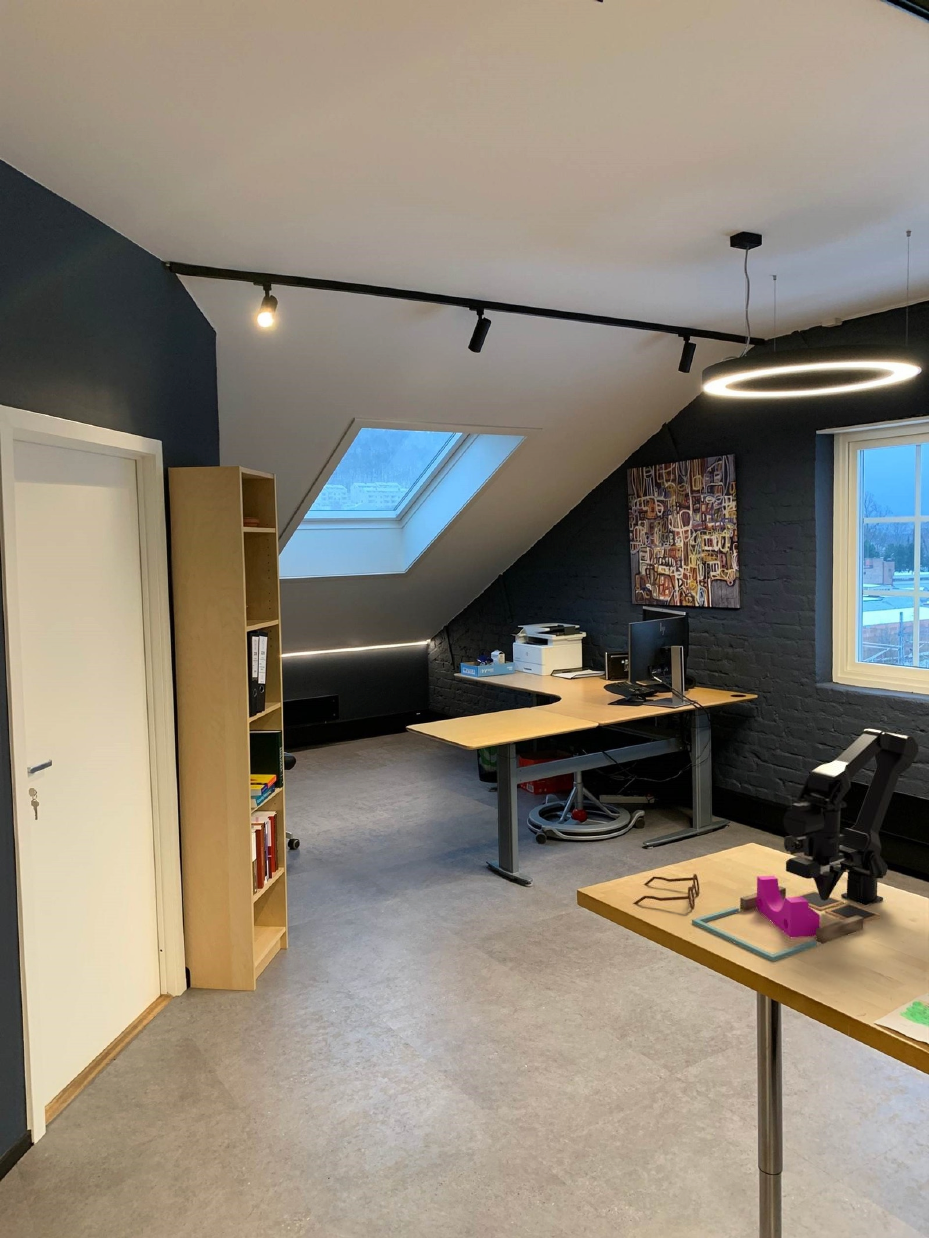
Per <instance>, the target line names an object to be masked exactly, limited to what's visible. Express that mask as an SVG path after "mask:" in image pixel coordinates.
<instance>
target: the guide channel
mask: <svg viewBox="0 0 929 1238" xmlns="http://www.w3.org/2000/svg"><path fill="white" fill-rule="evenodd" d="M778 886H779V885H778ZM779 891H780V894H781V897H782V899H783V901H784V899H785V898H786V897H787V888H786V887H784V886H782V885H781V886H779ZM739 902H740V903H739V910H742V911H745V912H748V911H750V910H754V909H757V892H755V893H752V894H749V895H745V896H742V897H741V896H740V901H739ZM864 926H865V923H864V918H863V917H861V916H858V915H856V916H853V917H850V918H848V919H845V920H844V919H842V920H839V921H836V922H833V923H830V924H826V925H824V926H820V928H818V929H816V936H815V941H817V942H818V943H819V944H821V945H822V944H823V945H824V944H826V943H828V942H832V941H834V940H838V939H840V938H843V937H846V936H849V935H852V934H855V933H857V932H861V931H864Z"/></svg>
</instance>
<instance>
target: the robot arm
mask: <svg viewBox="0 0 929 1238" xmlns="http://www.w3.org/2000/svg"><path fill="white" fill-rule="evenodd" d="M918 753H919V745H918V743H917V741H916V739H915V738H914V737H913V736H911V735H906V734H905V735H904V734H901V733H900V734H899V733H893V732H889V731H884V730H879V729H874V728H865V729H864V730H862V732H861V734H860V736H859V737H858V738H857V739H856V740H855V741H854V742H853V743H852V744H851V745H850V746H849V747H847V748H846V750H844V751H843V752H842V753H841V754H840V755H839V756H838V757H837V758H835V759H834V760H832V762H829V763H828V762H827V763H824V764H821V765H819V766H818V767H816V768H814V769H813V770H811V771H810V772H809V774H808V776H807V778H806V779H805V782H804V784H803V786H802V788H801V791H800V792H799V794H798V796H797V799H796V801H797V802H799V803H792V804H791V809H790V810H787V812H785V814H784V817H783V818H782V819H783V827H784V829H785V831H786V832H787V834H789V835H788V836H784V839H783V847H784V850H785V851H786V852H789V853H790V856H791V855H795V854H800V853H801V854H803V856H802V855H798V856H794V857H792V858H791V857H790V858H789V859H787V860H786V861H785V872H788V873H790V874H793V875H795V876H797V877H800V878H803V879H813V880H814V883H815V886H816V888H817V892H819V895H820V898H821V900H824V901H826V900H828V898H829V896H830V897H831V895H832V892H833V890H835V887H836V885H838V882H839V880H841V878H842V876H843V875H844V873H846V872H847V871H848V872H847V879H846V892H843V893H841V894H840V896H841V898H844V899H847V900H850V901H852V902H855V903H858V904H860V905H862V906H869V905H873V904H876V903H878V902H881V901H884V897H883V896H879V895H878V879H883V878H884V877H885V876H887V872H888V868H889V865H888V864H887V863H886V862H885V860H884V859H883V858H882V856H881V851H882V845H881V841H880V836H879V833H880V830H881V827H882V825H883V822H884V819H885V816H886V814H887V810H888V807H889V805H890V804H891V803H890V802H891V799H892V797H893V794H894V793H895V792H894V791H895V788H896V786H897V783H898V780H899V777H900V775H902V774H903V773H904V772H905V771H907V770H908V769H910V767H912V765H913V763H914V760H915V759H916V756H918ZM872 759H874V760H875V764H876V767H875V770H874V773H873V777H872V779H871V781H870V783H869V786H868V789H867V792H866V795H865V798H864V800H863V803H862V806H861V808H860V811H859V813H858V816H857V819H856V822H855V824H854V825H853V826H851V827H850V828H848V827H844V828H843V829H842V830H841V809H842V808H846V807H847V803H846V802H845V801H843V798H844V797H845V795H846V794H847V793H848V792H849V790H850V789H851V783H852V781H851V780H852V779H853V778H854V777H855V776H856V775H857V773H859V772H860V770H862V769H863V768H864V767H865V766H866V765H867V764H868V763H869V762H870V761H871V760H872ZM840 832H841V833H840ZM807 857H809V858H810V857H811V859H809V858H807Z"/></svg>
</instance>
